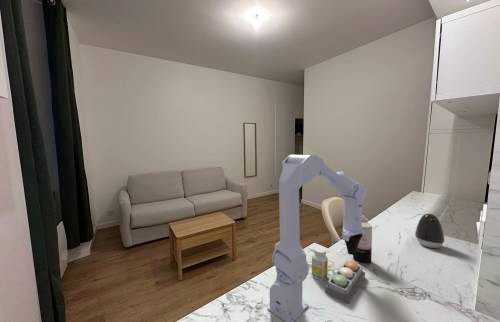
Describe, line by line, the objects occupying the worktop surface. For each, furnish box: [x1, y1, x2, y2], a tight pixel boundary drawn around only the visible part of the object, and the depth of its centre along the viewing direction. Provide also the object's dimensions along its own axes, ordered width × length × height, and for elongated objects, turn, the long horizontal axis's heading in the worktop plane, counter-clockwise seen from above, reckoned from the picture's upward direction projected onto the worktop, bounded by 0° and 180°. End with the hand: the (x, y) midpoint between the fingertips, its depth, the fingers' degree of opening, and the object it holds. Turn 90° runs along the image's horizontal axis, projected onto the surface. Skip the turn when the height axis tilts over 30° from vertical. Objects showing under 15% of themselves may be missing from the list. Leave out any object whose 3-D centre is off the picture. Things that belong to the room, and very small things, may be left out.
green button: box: [332, 273, 347, 287], centre depth 62 cm, size 4×4×2 cm
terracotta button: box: [344, 260, 359, 272], centre depth 70 cm, size 4×4×2 cm
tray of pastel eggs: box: [324, 262, 366, 305], centre depth 66 cm, size 17×7×4 cm, turn 136°
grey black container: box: [352, 221, 373, 265], centre depth 81 cm, size 7×6×15 cm
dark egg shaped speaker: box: [414, 213, 445, 249], centre depth 93 cm, size 10×10×15 cm
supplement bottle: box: [311, 246, 329, 281], centre depth 71 cm, size 5×5×10 cm
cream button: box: [339, 266, 353, 279], centre depth 66 cm, size 4×4×2 cm
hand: (351, 253), depth 70 cm, fingers closed
